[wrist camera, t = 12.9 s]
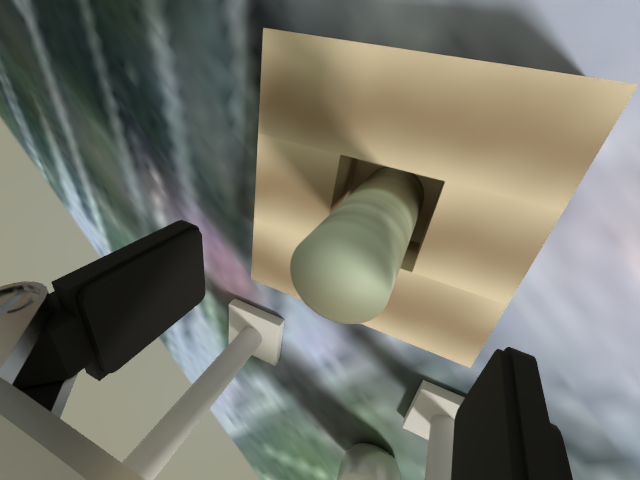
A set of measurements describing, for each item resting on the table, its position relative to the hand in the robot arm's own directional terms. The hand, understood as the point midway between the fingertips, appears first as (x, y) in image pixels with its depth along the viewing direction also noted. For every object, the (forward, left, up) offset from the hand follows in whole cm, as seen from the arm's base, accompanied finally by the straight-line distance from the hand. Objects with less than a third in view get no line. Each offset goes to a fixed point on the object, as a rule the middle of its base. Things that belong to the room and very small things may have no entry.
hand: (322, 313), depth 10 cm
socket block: (0, 0, -14) cm, 14 cm away
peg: (0, 0, -13) cm, 13 cm away
